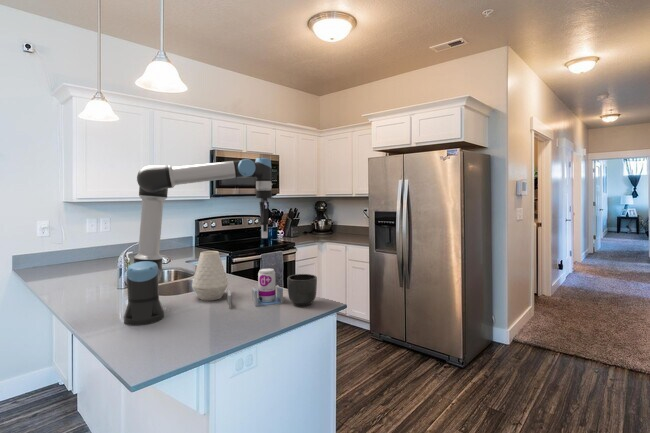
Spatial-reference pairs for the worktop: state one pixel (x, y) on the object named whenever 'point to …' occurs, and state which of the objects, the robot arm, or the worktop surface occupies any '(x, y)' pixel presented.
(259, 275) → the supplement can
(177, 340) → the worktop surface
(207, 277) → the vase
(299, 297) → the planter
